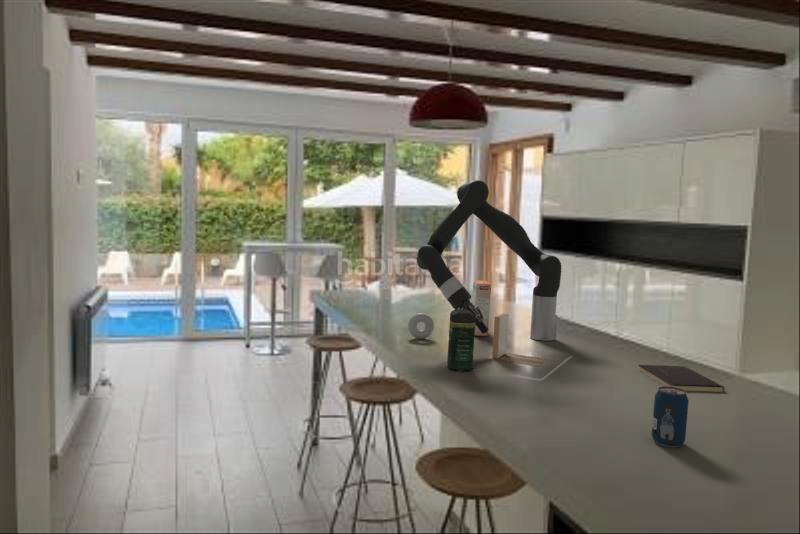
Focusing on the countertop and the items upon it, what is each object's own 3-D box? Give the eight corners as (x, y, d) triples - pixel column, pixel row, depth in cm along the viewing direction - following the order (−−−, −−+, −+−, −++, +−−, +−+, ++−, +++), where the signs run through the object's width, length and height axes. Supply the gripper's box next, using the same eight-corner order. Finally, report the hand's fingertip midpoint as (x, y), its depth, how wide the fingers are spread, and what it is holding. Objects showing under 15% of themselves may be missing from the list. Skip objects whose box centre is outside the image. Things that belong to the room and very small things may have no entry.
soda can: (675, 437, 146) (680, 386, 145) (690, 449, 139) (695, 395, 138) (645, 436, 146) (650, 385, 144) (659, 448, 139) (663, 394, 138)
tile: (492, 358, 213) (494, 316, 212) (501, 353, 221) (503, 313, 220) (497, 358, 213) (500, 317, 211) (506, 353, 220) (509, 313, 219)
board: (497, 353, 224) (497, 351, 224) (547, 360, 215) (548, 359, 215) (484, 359, 213) (485, 357, 213) (537, 368, 205) (538, 366, 205)
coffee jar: (474, 372, 196) (477, 312, 194) (448, 371, 196) (451, 311, 194) (470, 364, 206) (473, 307, 204) (445, 363, 206) (448, 306, 204)
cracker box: (488, 337, 251) (491, 284, 249) (473, 336, 251) (476, 283, 249) (484, 330, 265) (487, 280, 263) (470, 329, 265) (472, 279, 263)
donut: (432, 338, 244) (434, 312, 243) (434, 340, 241) (435, 314, 240) (406, 337, 243) (407, 311, 242) (407, 339, 240) (408, 313, 239)
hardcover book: (670, 392, 186) (671, 384, 185) (637, 371, 208) (638, 364, 208) (724, 393, 186) (724, 386, 186) (685, 373, 209) (686, 366, 209)
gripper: (455, 287, 216) (487, 328, 211) (469, 284, 227) (500, 322, 223) (440, 301, 219) (471, 341, 214) (455, 297, 230) (485, 335, 226)
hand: (486, 332), depth 219 cm, fingers closed
